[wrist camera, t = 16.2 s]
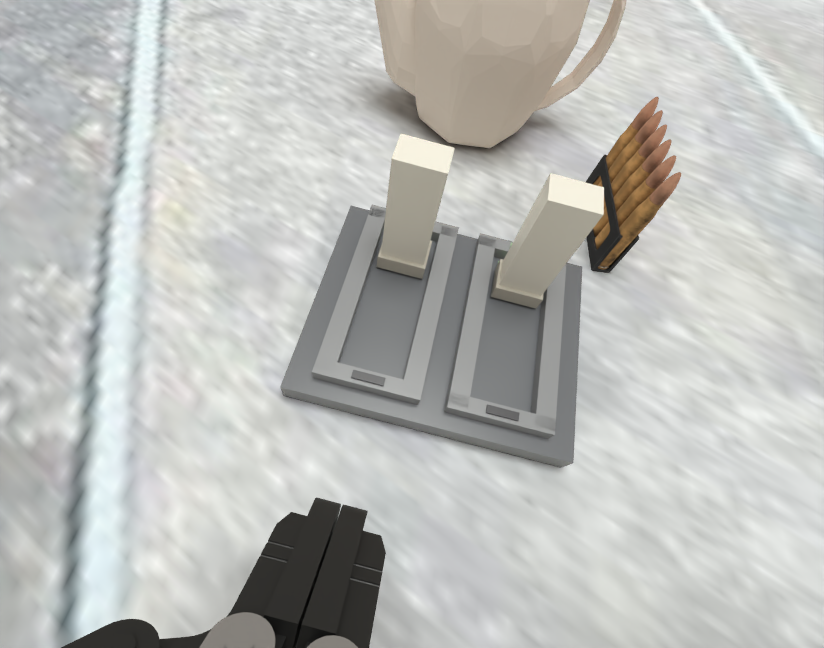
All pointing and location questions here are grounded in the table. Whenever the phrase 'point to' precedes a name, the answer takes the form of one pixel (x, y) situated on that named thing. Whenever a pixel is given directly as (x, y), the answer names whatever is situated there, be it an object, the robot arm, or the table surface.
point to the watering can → (486, 60)
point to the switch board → (442, 345)
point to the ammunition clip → (631, 187)
